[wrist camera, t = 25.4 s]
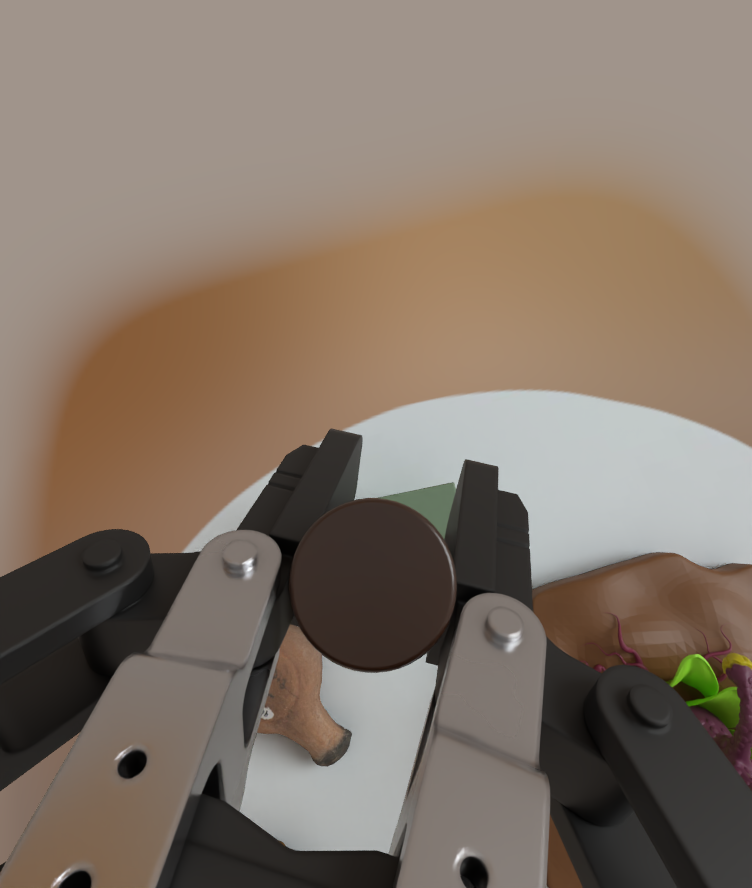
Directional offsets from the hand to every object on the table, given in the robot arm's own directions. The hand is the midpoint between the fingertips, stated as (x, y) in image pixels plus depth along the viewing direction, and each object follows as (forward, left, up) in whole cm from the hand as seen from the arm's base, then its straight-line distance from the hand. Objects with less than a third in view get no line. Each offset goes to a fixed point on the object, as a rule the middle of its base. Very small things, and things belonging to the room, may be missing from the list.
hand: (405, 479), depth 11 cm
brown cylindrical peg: (-1, -2, -5) cm, 5 cm away
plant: (+12, -15, -23) cm, 30 cm away
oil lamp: (-10, -9, -23) cm, 27 cm away
